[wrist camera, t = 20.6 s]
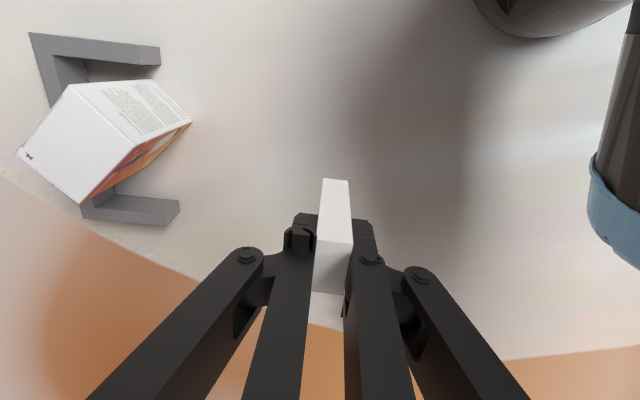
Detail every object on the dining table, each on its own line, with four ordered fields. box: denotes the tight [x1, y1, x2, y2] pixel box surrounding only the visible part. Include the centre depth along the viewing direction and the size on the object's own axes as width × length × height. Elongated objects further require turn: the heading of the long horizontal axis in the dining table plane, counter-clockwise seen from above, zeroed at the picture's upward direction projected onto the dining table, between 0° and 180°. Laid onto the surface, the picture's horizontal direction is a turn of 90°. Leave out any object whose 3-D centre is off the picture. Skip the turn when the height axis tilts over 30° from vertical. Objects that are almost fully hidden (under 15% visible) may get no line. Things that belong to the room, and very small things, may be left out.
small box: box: [14, 79, 193, 204], centre depth 26 cm, size 8×6×10 cm
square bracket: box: [28, 32, 180, 226], centre depth 29 cm, size 18×9×4 cm, turn 174°
